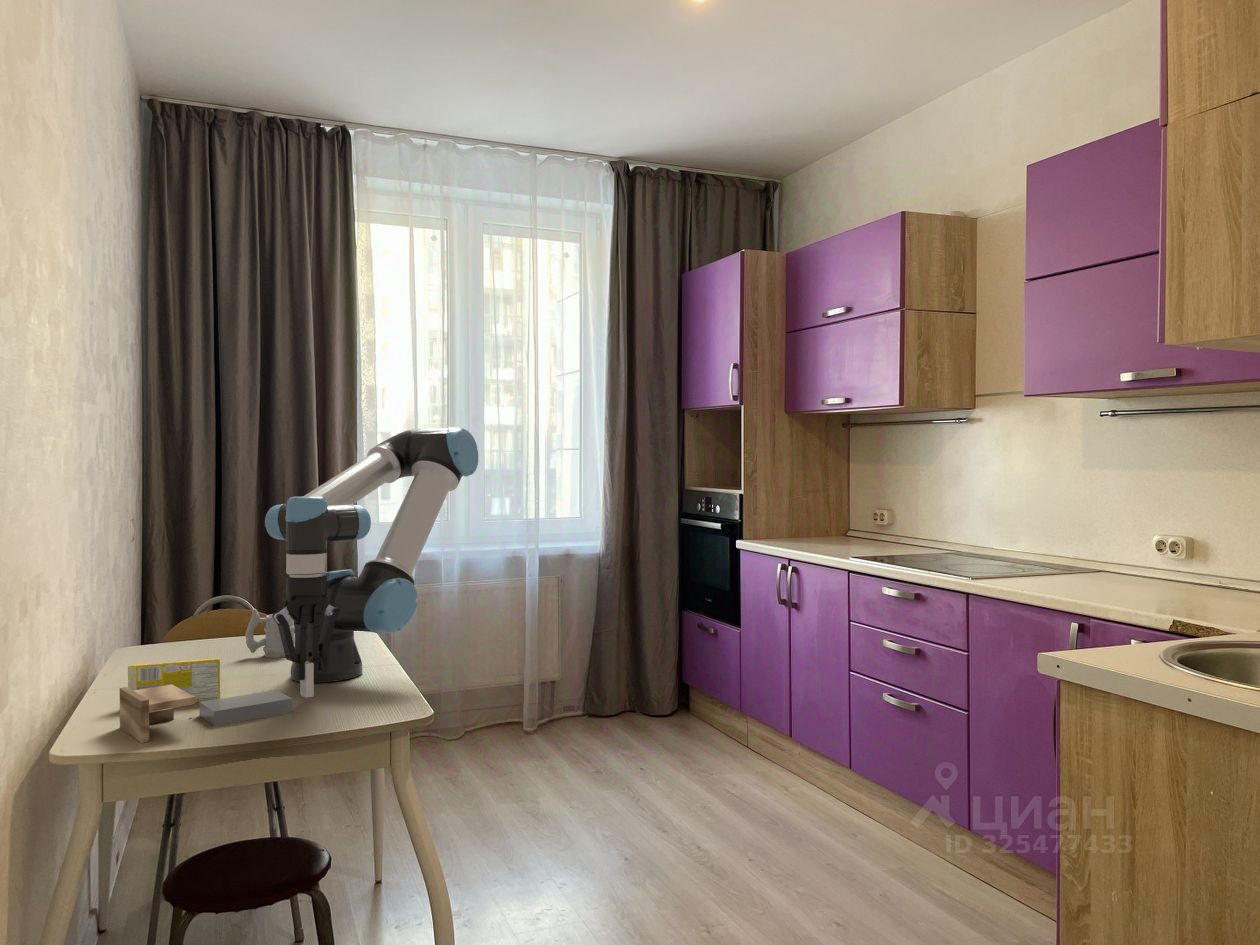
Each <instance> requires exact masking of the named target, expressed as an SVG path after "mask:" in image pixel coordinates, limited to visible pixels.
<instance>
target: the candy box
mask: <svg viewBox="0 0 1260 945" xmlns="http://www.w3.org/2000/svg"><path fill="white" fill-rule="evenodd" d="M127 681H128V682H127V687H128V688H130V689H132V690H139V689H146V688H152V687H159V686H165V685H174V686H176V687H178V688H180V689H181V690H183V691H185V692H187V693H189V694H191V695H193V696H195V697H196V704H197V703H199V702H203V701H209V700H216V699H221V658H219V657H217V658H206V659H205V658H204V659H193V660H182V661H181V660H178V661H167V662H155V663H152V662H151V663H140V664H130V665H128V666H127Z"/></svg>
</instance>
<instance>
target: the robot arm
mask: <svg viewBox="0 0 1260 945" xmlns="http://www.w3.org/2000/svg"><path fill="white" fill-rule="evenodd" d="M476 441H477V440H476V439H475V438H474V435H473V434H472V433H471V432H470V431H469V430H468V429H466V428H464V427H454V426H449V427H448V428H446V427H445V428H441V427H439V428H411V429H407V430H404V431H401V432H400V433H397V434H395V435H393V436H391V437H389V438H386V439H385V440H384V441H381V442H380V443H378V444H377V445H375V446H373V447H372V448H370V449H369V450H368V452H367V454H366V457H364V458H362V459H361V460H359V461H357V462H356V463H354V464H353V465H351V466H350V467H348V468H347V469H345V470H343V471H342V472H340V473H339V474H337V475H336V476H334V477H331V478H330V479H329V480H327V481H326V482H324V483H322V484H321V485H319V486H318V487H316V488H314V489H313V490H311V491H310V492H308V493H306V494H305V495H304V496H292V497H289V498H288V499H287V502H286V503H282V504H276V505H273V506H272V507H270V508H269V509H268V511H267V513H266V515H265V518H264V527H265V529H266V532H267V533H268V535H269V536H270V538H271V537H272V538H273V539H275V540H283V541H286V553H285V554H286V557H285V558H286V561H285V562H286V566H285V567H286V570H285V571H286V574H287V575H288V576H287V578H286V580H285V584H286V585H285V586H286V589H285V591H286V592H285V594H286V601H285V603H284V606H283V608H282V609H281V610H280V611H278V612H274V613H272V614H273V615H272V617H273V619H274V620H275V622H276V623H277V625H278V628H279V632H280V636H281V641H282V645H283V649H284V653H285V657H284V658H285V659H286V661H289V662H292V663H291V666H290V679H291V680H292V681H295V682H299V688H300V689H299V692H300V693H299V694H300V696H301V697H304V698H306V699H307V698H311V697H314V696H315V695H314V693H315V692H314V690H315V689H314V688H315V687H314V683H330V682H339V681H345V680H350V679H353V678H356V677H358V676H361V675H362V674H363V661H362V659H361V658H362V657H361V656H360V653H359V650H358V649H359V648H358V647H357V644H356V641H355V631H356V632H366V633H374V634H384V633H386V634H387V633H388V634H391V633H396V632H399V631H401V630H403V629H404V628H405V627H407V626H408V624H409V623H410V622H411V620H412V619H413V617H414V616H415V614H416V610H417V607H418V602H417V599H418V592H417V588H416V586H415V584H416V581H415V578H414V576H413V572H414V569H415V567H416V565H417V564H418V560H419V559H420V556H421V554H422V552H423V549H424V548H425V545H426V543H427V541H428V538H429V535H430V534H431V531H432V530H433V528H434V524H435V523H436V521H437V519H438V516H439V513H440V510H441V509H442V506H443V505H444V501H445V499H447V498H446V497H447V495H448V493H449V492H452V491H455V490H456V489H457V488H458V487H459V484H460V482H461V479H462V477H469V476H472V475H473V474H474V473H475V472H476V470H477V468H478V466H479V450H478V444H477V442H476ZM406 477H407V478H408V477H413V479H412V481H411V482H410V483H411V484H410V486H409V488H408V490H407V491H406V494H405V495H404V498H403V500H402V502H401V504H400V506H399V508H398V511H397V513H396V515H395V518H394V519H393V521H392V522H391V523H392V524H391V525H390V528H389V530H388V531H387V533H386V536H385V538H384V540H383V542H382V545H381V546H380V548H379V550H378V552H377V555H376V557H375V558H374V559H371V560H369V561H368V560H367V562H365V564H364V565H363V568H362V570H361V572H360V574H359V576H355V573H354V570H353V569H351V568H350V569H348V568H347V569H341V570H340V569H339V570H330V571H328V553H327V552H328V544H329V543H339V542H340V543H342V542H354V541H358V540H359V541H360V540H362V539H364V538H365V537H366V536H367V535H368V534H369V532H370V531H371V525H372V520H371V519H372V518H371V515H370V513H369V511H368V510H367V508H365V507H364V506H362V505H359V504H356V503H357V502H359V501H360V500H362V499H363V498H365V497H366V496H368V495H369V494H370V493H372V492H374V491H375V490H376V489H378V488H379V487H381V486H382V485H384V484H392V483H395V482H396V481H397V480H399V479H401V478H406ZM288 614H289V615H290V617H291V618H292V619H293V621H294V627H295V630H294V637H295V647H294V643H293V639H292V635H291V631H290V627H289V624H288V622H287V620H288Z"/></svg>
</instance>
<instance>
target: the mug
mask: <svg viewBox="0 0 1260 945" xmlns="http://www.w3.org/2000/svg"><path fill="white" fill-rule="evenodd" d="M251 611H252V612H251V613H252V614H251V617H250V620H249V623H248V625H247V629H246V631H245V633H244V636H245V637H244V638H245V640H246V641H245V642H246V646H247V647H246V648H247V649H249V651H250V653H252V654H255V653H256V651H257V650H258V649H260V648H261V647H262V649H263V652H264V657H266V658H272V659H273V658H275V659H276V658H277V659H279V658H281V659H282V658H286V657H285V653H284V649H283V645H282V641H281V636H280V632H279V628H278V625H277V623H276V622H275V620H274V619H273V617H272V615H273V614H274V613H272V614H268V615H266V617H260V613H259V612H258V610H257V609H256V608H252V610H251ZM287 622H288V624H289V627H290V631H291V635H292V639H293V643H294V647H295V627H294V621H293V619H292V618H291V617H290V615H289V614H288V620H287ZM263 623H264V624H265V627H264V629H263V630H264V632H265V638H262V639H260V640H256V639H255V636H254V631H255V629H256V628H257V626H258V624H263Z"/></svg>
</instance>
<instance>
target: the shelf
mask: <svg viewBox="0 0 1260 945" xmlns="http://www.w3.org/2000/svg"><path fill="white" fill-rule="evenodd" d="M196 704H197V703H196V697H195V696H193V695H191V694H189V693H187V692H185V691H183V690H181V689H180V688H178V687H176V686H174V685H165V686H159V687H152V688H146V689H139V690H132V689H130V688H128V686H123V687H119V728H120V729H121V730H122V731H124V732H125V731H126V732H125V733H127V734H128V735H129V736H131V737H132V738H134V739H135V740H136V741H138V742H139V743H141V744H144V743H149V742H150V724H155V723H160V722H166V721H172V720H174V719H175V718H174V716H175V709H174V708H179V707H185V706H191V705H196Z"/></svg>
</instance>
